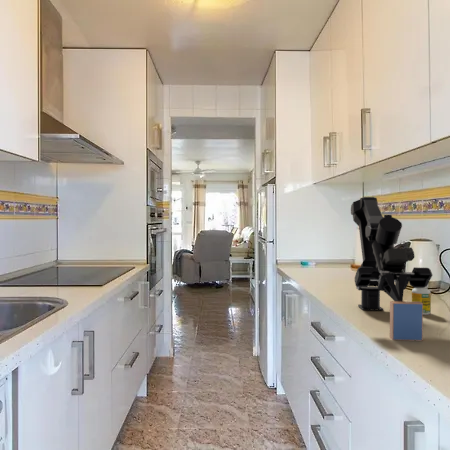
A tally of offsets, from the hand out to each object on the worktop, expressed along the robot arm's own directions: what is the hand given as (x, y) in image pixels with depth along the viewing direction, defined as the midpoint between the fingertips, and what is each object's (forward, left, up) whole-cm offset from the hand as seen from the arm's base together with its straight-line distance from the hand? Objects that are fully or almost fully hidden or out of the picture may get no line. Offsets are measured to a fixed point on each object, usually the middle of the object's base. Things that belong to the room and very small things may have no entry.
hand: (400, 303), depth 100 cm
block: (+4, 0, -8) cm, 9 cm away
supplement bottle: (-25, +15, -8) cm, 30 cm away
